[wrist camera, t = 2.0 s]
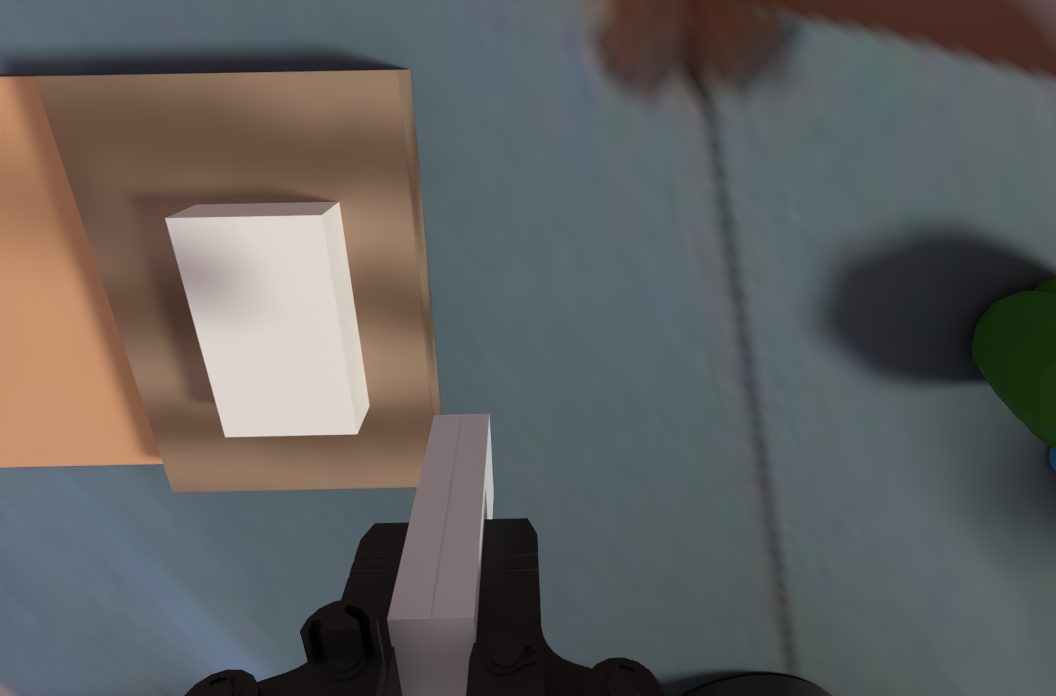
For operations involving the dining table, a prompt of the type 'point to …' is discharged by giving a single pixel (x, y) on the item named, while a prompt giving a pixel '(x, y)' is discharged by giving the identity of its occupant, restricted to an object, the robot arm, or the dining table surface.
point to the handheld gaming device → (1052, 458)
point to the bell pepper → (1022, 356)
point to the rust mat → (56, 313)
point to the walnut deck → (257, 177)
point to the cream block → (274, 316)
